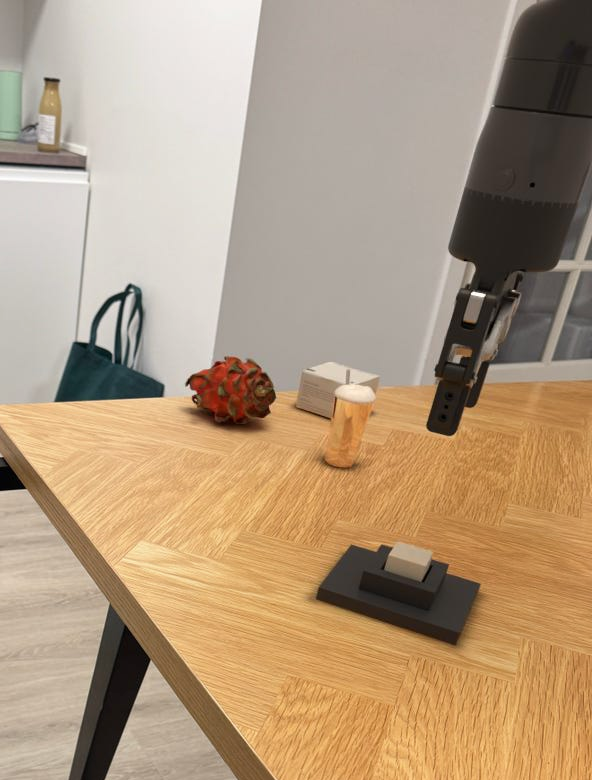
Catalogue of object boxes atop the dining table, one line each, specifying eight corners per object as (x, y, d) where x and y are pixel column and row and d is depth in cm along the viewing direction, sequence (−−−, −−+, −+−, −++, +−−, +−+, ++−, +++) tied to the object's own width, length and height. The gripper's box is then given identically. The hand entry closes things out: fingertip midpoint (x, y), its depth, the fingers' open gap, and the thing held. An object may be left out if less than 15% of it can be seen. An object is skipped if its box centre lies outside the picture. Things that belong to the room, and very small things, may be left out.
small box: (372, 412, 121) (382, 375, 118) (344, 424, 116) (353, 385, 113) (323, 396, 125) (331, 360, 122) (293, 407, 120) (301, 369, 117)
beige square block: (428, 569, 78) (434, 551, 77) (420, 584, 75) (426, 565, 74) (392, 558, 79) (397, 540, 78) (383, 572, 76) (388, 554, 75)
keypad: (477, 594, 80) (487, 565, 78) (455, 645, 73) (467, 614, 71) (348, 555, 84) (355, 526, 83) (315, 598, 77) (323, 568, 75)
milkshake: (346, 452, 107) (366, 370, 102) (364, 470, 103) (386, 385, 97) (311, 452, 106) (329, 368, 101) (327, 470, 102) (348, 383, 96)
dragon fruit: (272, 446, 111) (184, 436, 116) (292, 392, 114) (205, 385, 119) (260, 401, 104) (167, 392, 109) (282, 345, 107) (190, 339, 112)
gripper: (570, 205, 54) (484, 457, 63) (589, 190, 65) (513, 407, 74) (446, 187, 57) (381, 430, 66) (484, 175, 67) (423, 386, 76)
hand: (451, 418), depth 70 cm, fingers open, 8 cm apart
